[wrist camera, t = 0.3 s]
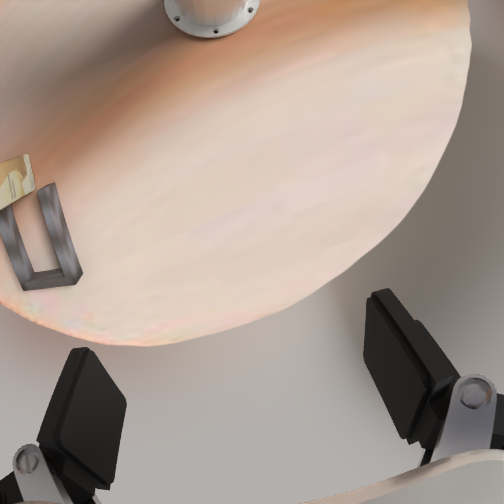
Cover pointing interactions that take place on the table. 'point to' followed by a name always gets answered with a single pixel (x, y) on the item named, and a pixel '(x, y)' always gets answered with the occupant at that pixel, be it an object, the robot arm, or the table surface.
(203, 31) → the robot arm
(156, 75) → the table surface
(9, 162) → the skincare box
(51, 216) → the u rest
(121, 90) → the table surface
